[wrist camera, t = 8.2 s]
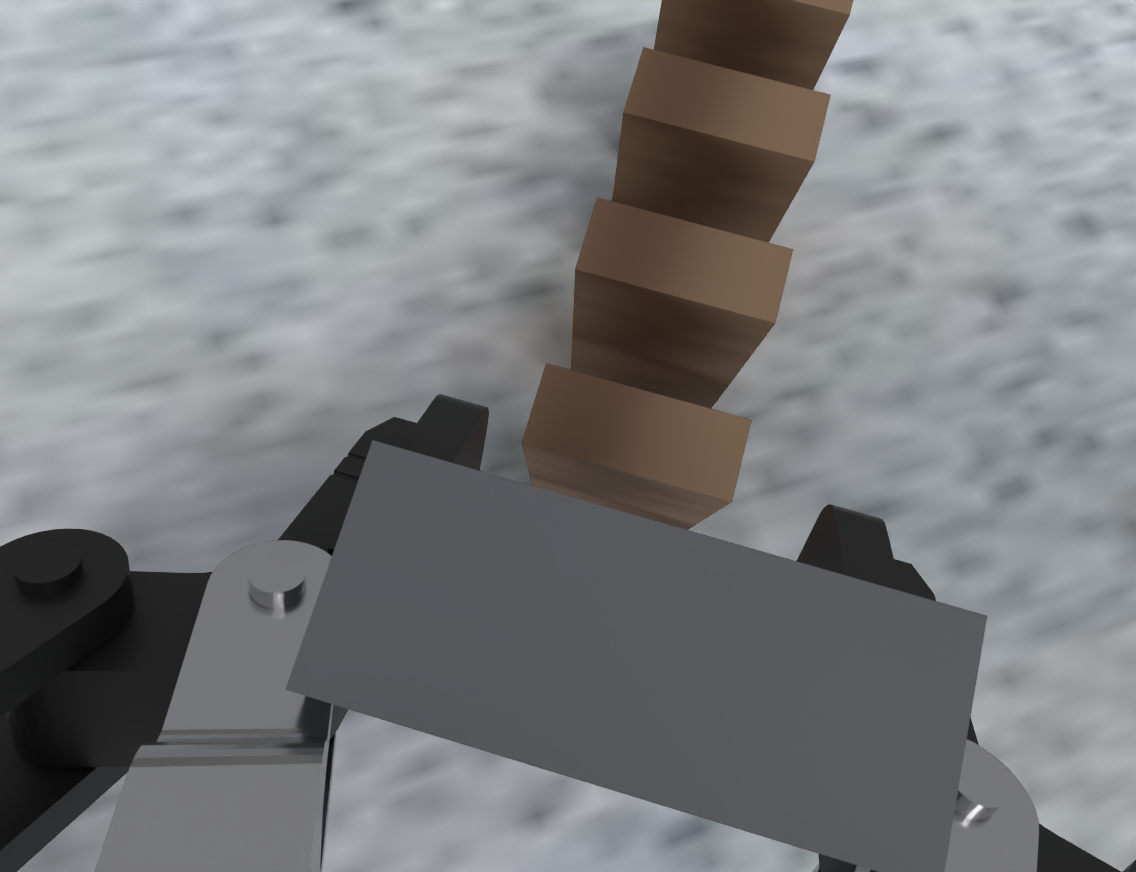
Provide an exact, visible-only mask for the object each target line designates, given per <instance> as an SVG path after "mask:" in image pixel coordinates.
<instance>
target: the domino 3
mask: <svg viewBox="0 0 1136 872" xmlns="http://www.w3.org/2000/svg"><path fill="white" fill-rule="evenodd" d="M792 252H793V249H790V248H786V247H783V246H779V245H775V244H771V243H767V242H764V241H760V240H756V239H752V238H749V237H745V236H741V235H737V234H733V233H730V232H726V231H722V230H718V229H715V228H711V227H707V226H703V225H699V224H696V223H692V222H688V221H684V220H681V219H677V218H673V217H669V216H665V215H662V214H658V213H654V212H650V211H647V210H643V209H639V208H635V207H631V206H628V205H624V204H620V203H616V202H612V201H609V200H605V199H601V198H597V200H596V203H595V206H594V210H593V213H592V216H591V219H590V223H589V226H588V229H587V233H586V236H585V239H584V242H583V246H582V249H581V252H580V255H579V259H578V262H577V265H576V268H575V288H574V312H573V335H572V359H571V370H572V371H576V372H580V373H583V374H587V375H590V376H594V377H598V378H601V379H605V380H609V381H612V382H616V383H619V384H623V385H627V386H630V387H634V388H637V389H641V390H645V391H648V392H652V393H656V394H659V395H663V396H666V397H670V398H674V399H677V400H681V401H684V402H688V403H692V404H695V405H699V406H702V407H706V408H710V409H711V408H712V407H713V405H714V404H715V403H716V401H717V400H718V399H719V397H720V396H721V395H722V393H723V392H724V391H725V389H726V388H727V387H728V385H729V384H730V383H731V381H732V380H733V379H734V377H735V376H736V375H737V373H738V372H739V371H740V369H741V368H742V367H743V365H744V364H745V363H746V361H747V360H748V359H749V357H750V356H751V355H752V353H753V352H754V351H755V349H756V348H757V347H758V345H759V344H760V343H761V341H762V340H763V339H764V337H765V336H766V335H767V333H768V332H769V331H770V329H771V328H772V327H773V325H774V324H775V322H776V318H777V314H778V310H779V306H780V301H781V297H782V293H783V289H784V285H785V281H786V277H787V272H788V268H789V264H790V260H791V256H792Z"/></svg>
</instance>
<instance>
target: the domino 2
mask: <svg viewBox="0 0 1136 872" xmlns="http://www.w3.org/2000/svg"><path fill="white" fill-rule="evenodd" d="M829 99H830V94H826V93H822V92H818V91H814V90H810V89H806V88H802V87H798V86H794V85H790V84H786V83H782V82H778V81H774V80H770V79H767V78H763V77H759V76H755V75H751V74H747V73H743V72H739V71H735V70H731V69H727V68H723V67H719V66H715V65H711V64H707V63H704V62H700V61H696V60H692V59H688V58H684V57H680V56H676V55H672V54H668V53H664V52H660V51H656V50H652V49H648V48H644V47H643V50H642V54H641V57H640V60H639V63H638V67H637V70H636V73H635V76H634V80H633V83H632V86H631V90H630V93H629V96H628V99H627V103H626V106H625V109H624V113H623V120H622V128H621V136H620V144H619V152H618V160H617V168H616V176H615V183H614V191H613V199H612V202H616V203H620V204H624V205H628V206H631V207H635V208H639V209H643V210H647V211H650V212H654V213H658V214H662V215H665V216H669V217H673V218H677V219H681V220H684V221H688V222H692V223H696V224H699V225H703V226H707V227H711V228H715V229H718V230H722V231H726V232H730V233H733V234H737V235H741V236H745V237H749V238H752V239H756V240H760V241H764V242H767V243H769V241H770V239H771V237H772V236H773V234H774V232H775V230H776V229H777V227H778V225H779V223H780V221H781V220H782V218H783V216H784V214H785V213H786V211H787V209H788V207H789V206H790V204H791V202H792V200H793V199H794V197H795V195H796V193H797V192H798V190H799V188H800V186H801V185H802V183H803V181H804V179H805V177H806V176H807V174H808V172H809V170H810V169H811V167H812V165H813V163H814V162H815V157H816V153H817V149H818V145H819V141H820V137H821V133H822V128H823V124H824V120H825V116H826V112H827V108H828V104H829Z"/></svg>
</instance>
